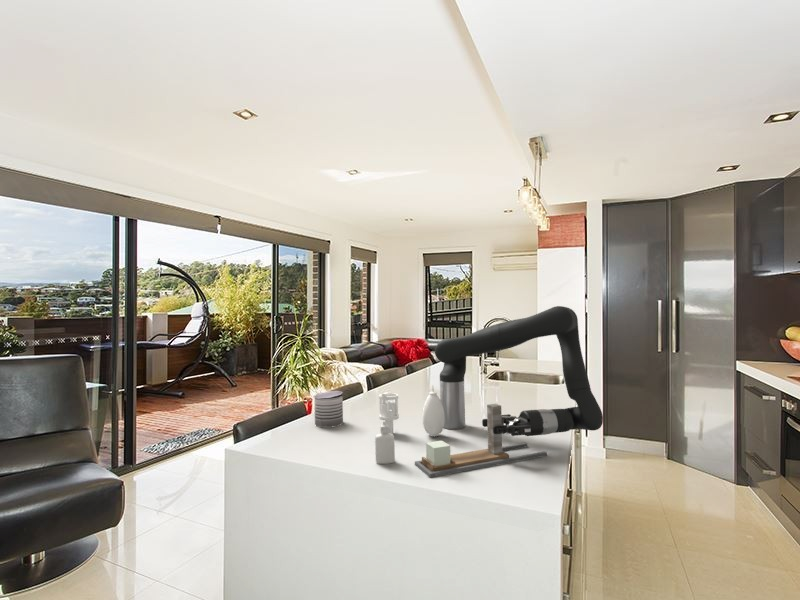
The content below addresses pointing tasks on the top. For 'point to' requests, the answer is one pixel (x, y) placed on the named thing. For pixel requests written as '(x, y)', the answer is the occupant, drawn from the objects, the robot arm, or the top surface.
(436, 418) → the sauce bottle
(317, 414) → the can
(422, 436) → the top surface
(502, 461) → the track
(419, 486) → the top surface
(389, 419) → the white tall plastic piece
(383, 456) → the eye dropper bottle
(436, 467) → the wooden board with post
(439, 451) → the block
